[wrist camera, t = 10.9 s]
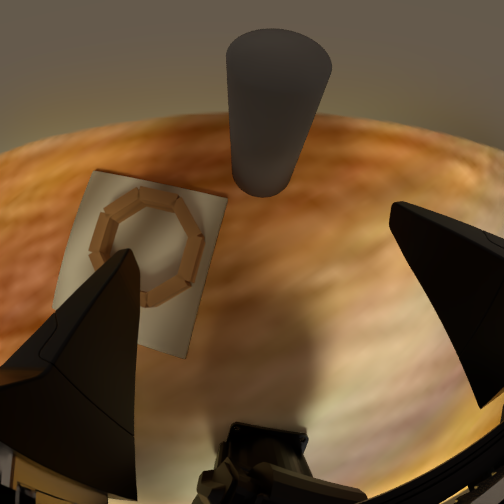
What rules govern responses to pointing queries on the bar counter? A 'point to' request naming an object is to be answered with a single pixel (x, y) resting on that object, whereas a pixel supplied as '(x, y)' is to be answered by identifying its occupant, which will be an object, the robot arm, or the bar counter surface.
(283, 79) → the dark grey cylinder
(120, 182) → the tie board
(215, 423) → the bar counter surface
